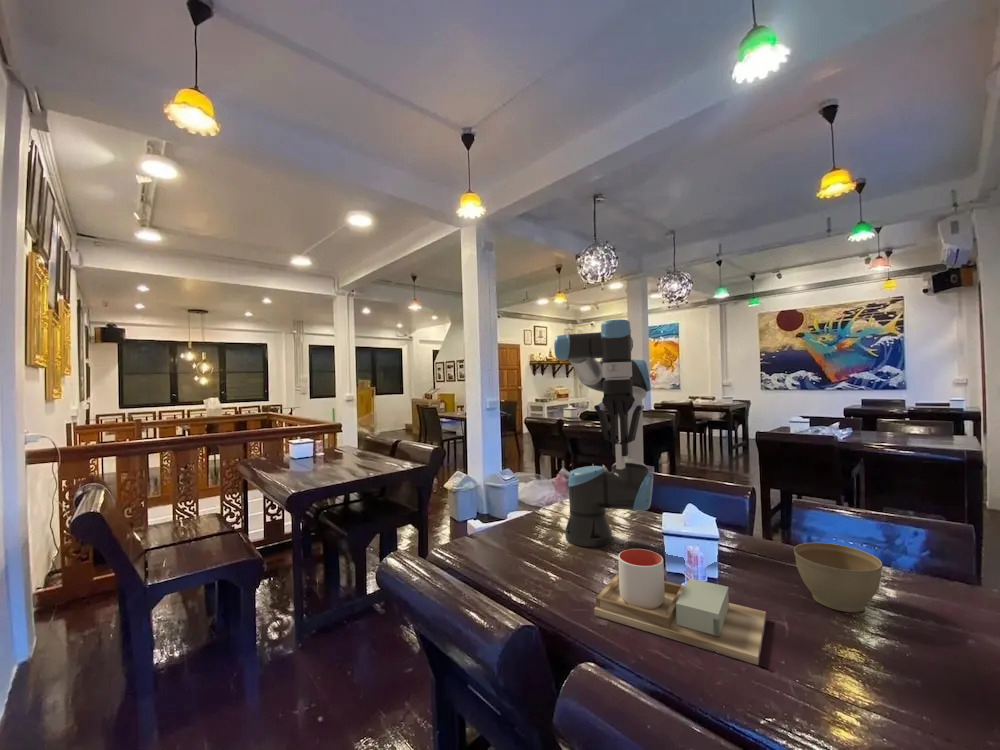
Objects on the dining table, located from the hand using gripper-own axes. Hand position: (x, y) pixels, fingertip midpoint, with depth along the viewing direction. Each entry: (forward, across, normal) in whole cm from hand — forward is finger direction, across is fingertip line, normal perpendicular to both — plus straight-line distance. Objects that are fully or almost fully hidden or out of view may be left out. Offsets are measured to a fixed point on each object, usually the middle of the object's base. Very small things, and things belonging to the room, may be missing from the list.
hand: (620, 468), depth 115 cm
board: (+29, +16, -11) cm, 35 cm away
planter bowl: (+30, +45, +14) cm, 56 cm away
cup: (+28, +8, -11) cm, 31 cm away
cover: (+28, +21, -11) cm, 36 cm away
